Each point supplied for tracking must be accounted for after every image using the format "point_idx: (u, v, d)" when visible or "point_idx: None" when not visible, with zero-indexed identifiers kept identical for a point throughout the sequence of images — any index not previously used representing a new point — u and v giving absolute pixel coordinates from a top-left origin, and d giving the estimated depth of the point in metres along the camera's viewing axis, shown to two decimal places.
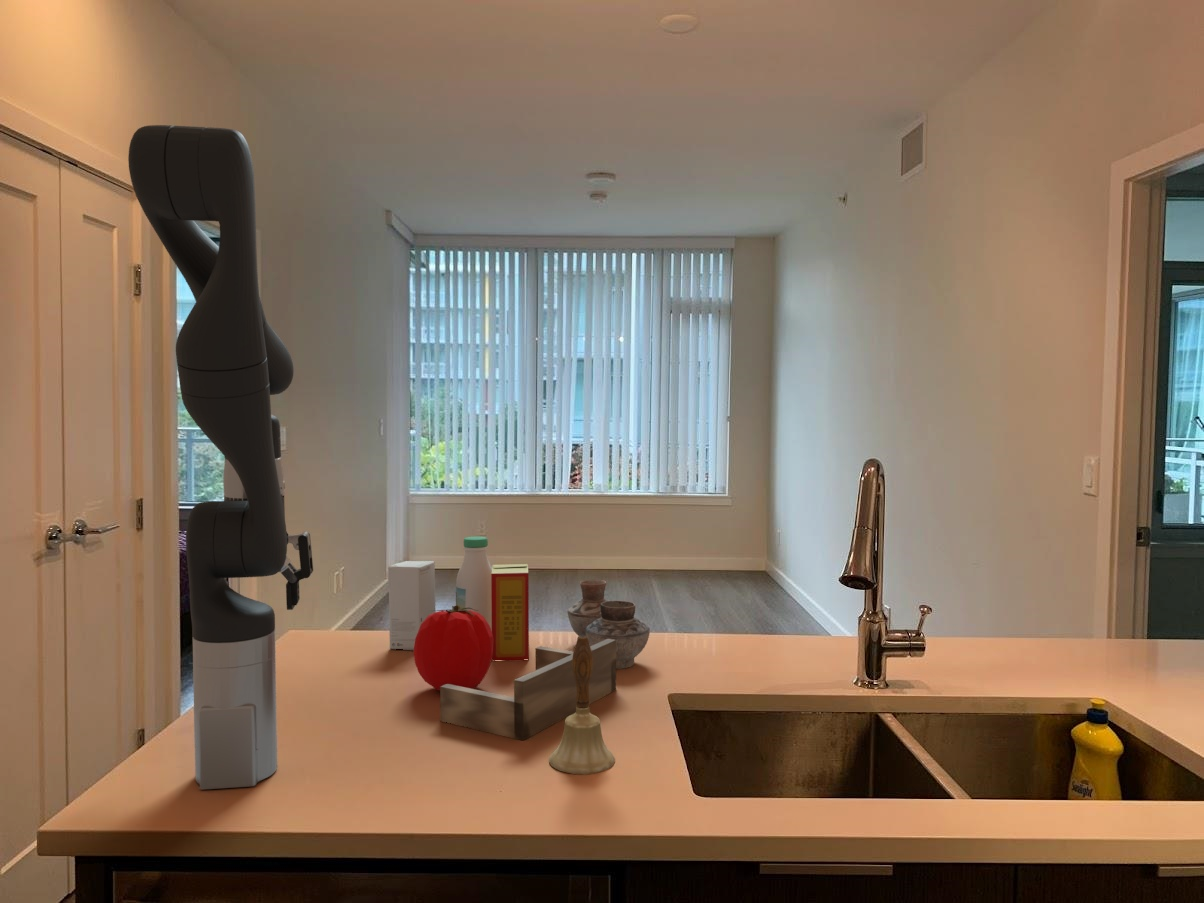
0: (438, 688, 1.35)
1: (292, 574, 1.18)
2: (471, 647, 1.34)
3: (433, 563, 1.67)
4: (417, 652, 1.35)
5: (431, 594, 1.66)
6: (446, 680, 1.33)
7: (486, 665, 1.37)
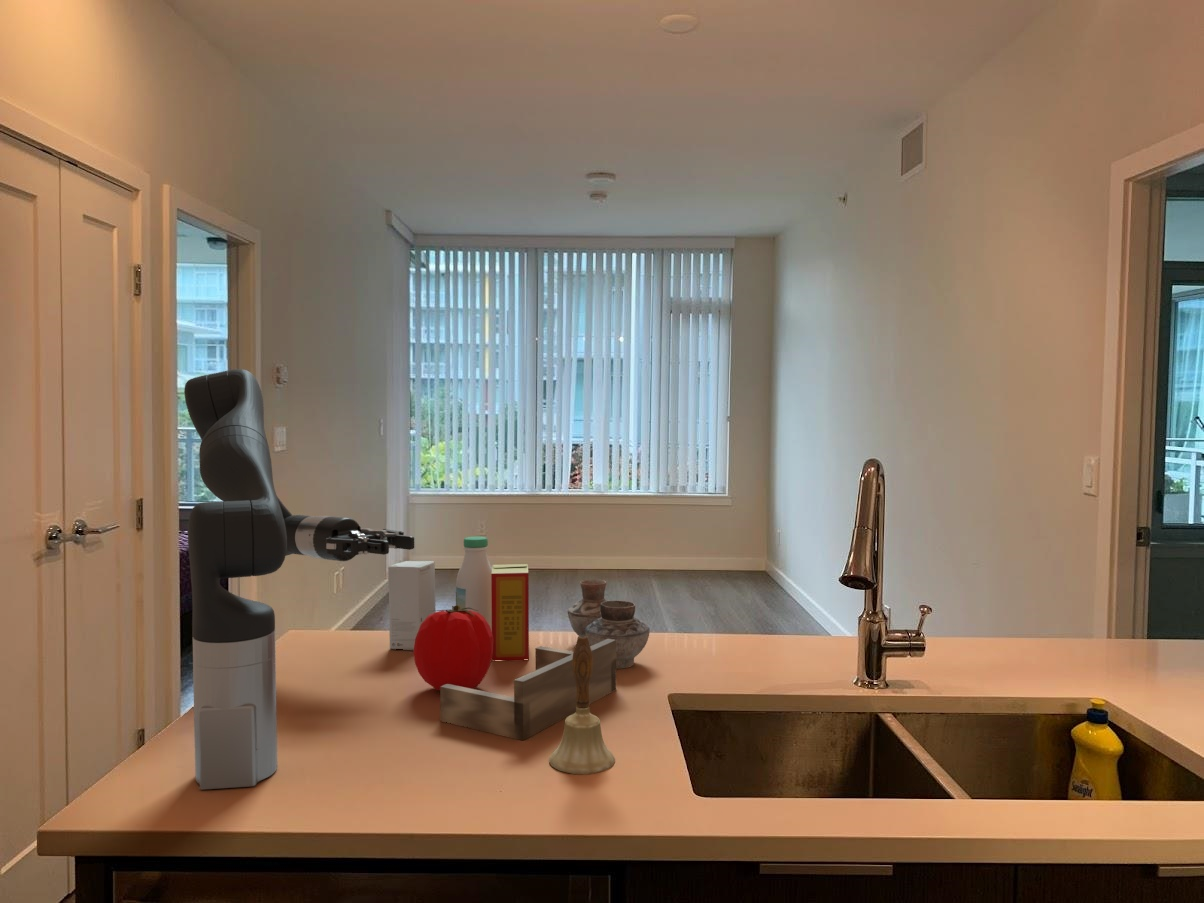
0: (438, 688, 1.35)
1: (393, 533, 1.49)
2: (471, 647, 1.34)
3: (433, 563, 1.67)
4: (417, 652, 1.35)
5: (431, 594, 1.66)
6: (446, 680, 1.33)
7: (486, 665, 1.37)
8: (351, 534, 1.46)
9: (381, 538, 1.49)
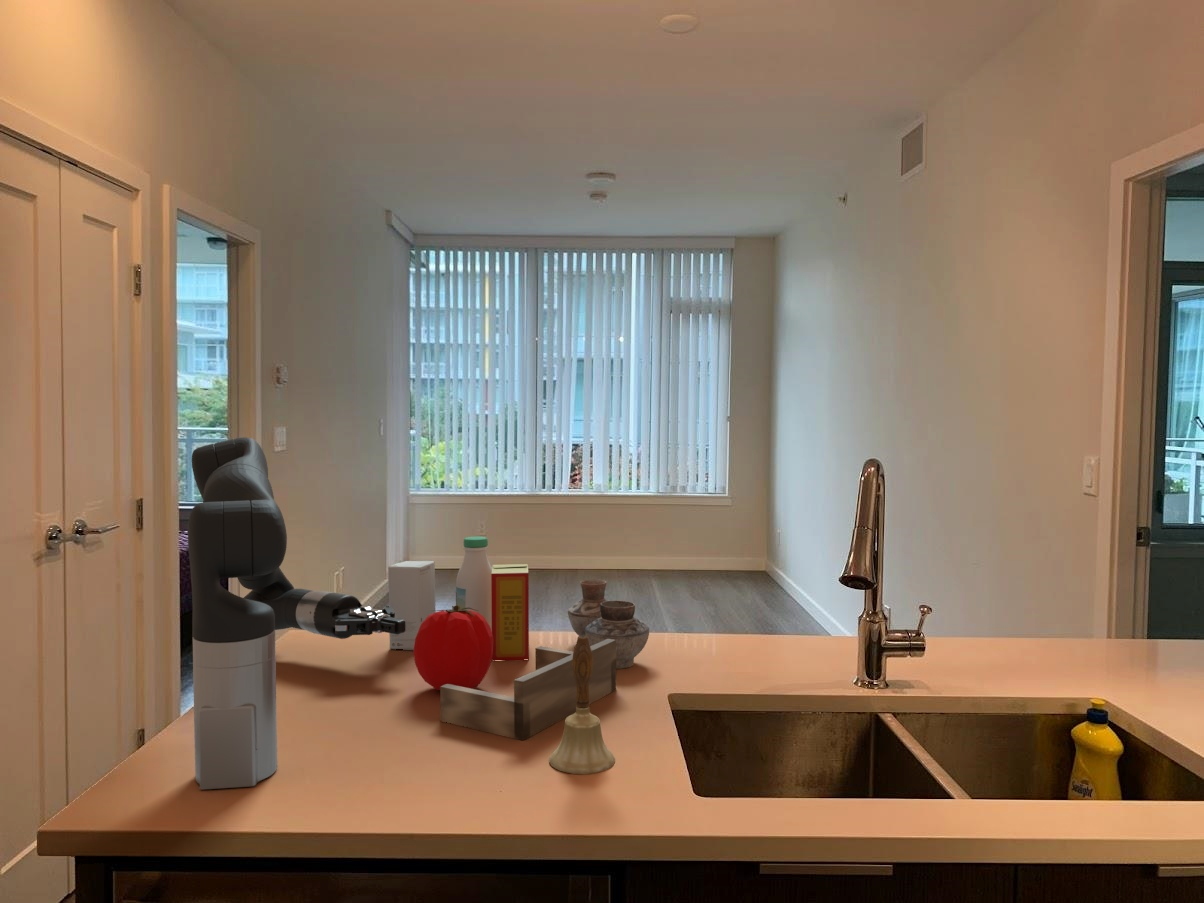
0: (438, 688, 1.35)
1: (384, 615, 1.48)
2: (471, 647, 1.34)
3: (433, 563, 1.67)
4: (417, 652, 1.35)
5: (431, 594, 1.66)
6: (446, 680, 1.33)
7: (486, 665, 1.37)
8: (355, 613, 1.47)
9: None
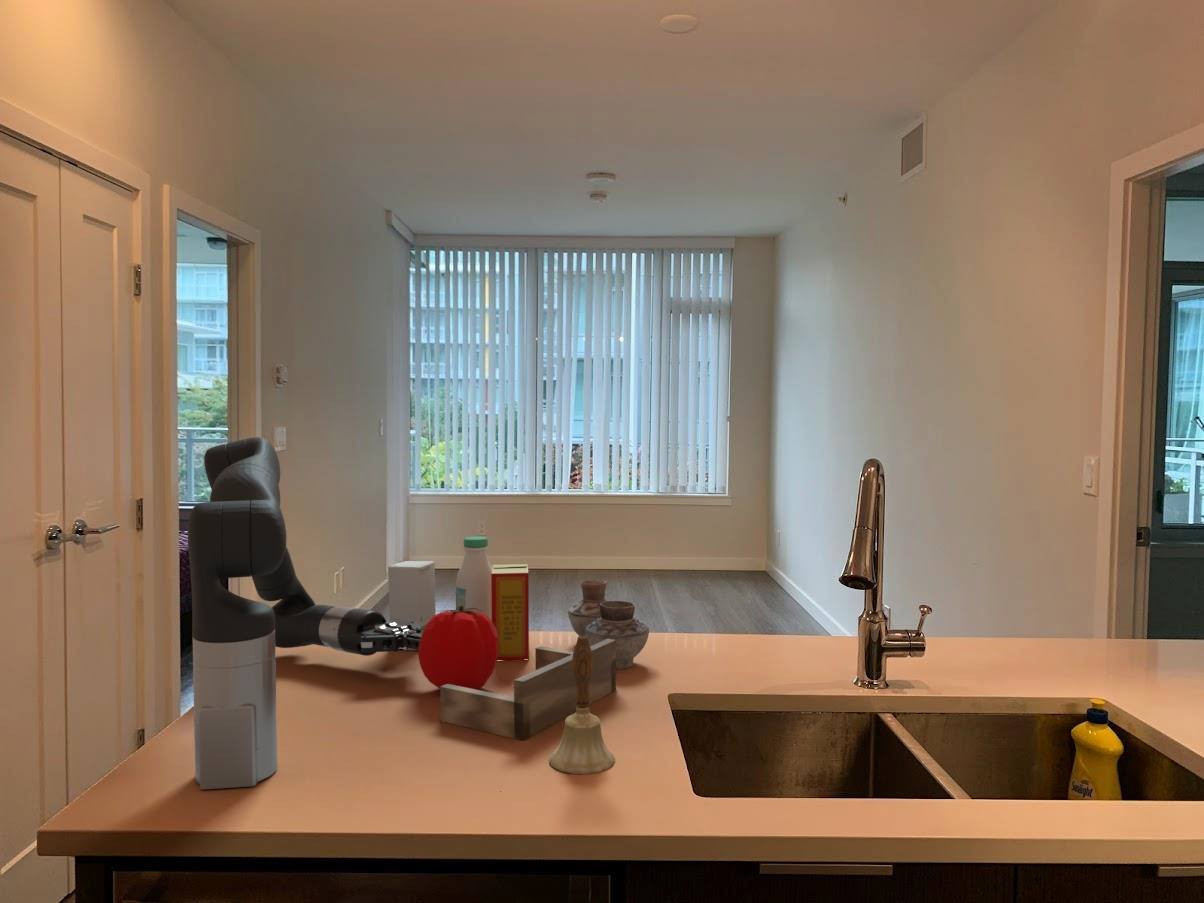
0: None
1: (410, 631, 1.45)
2: (477, 647, 1.33)
3: (433, 563, 1.67)
4: (422, 653, 1.35)
5: (431, 594, 1.66)
6: (451, 681, 1.33)
7: (492, 666, 1.37)
8: (380, 630, 1.44)
9: None
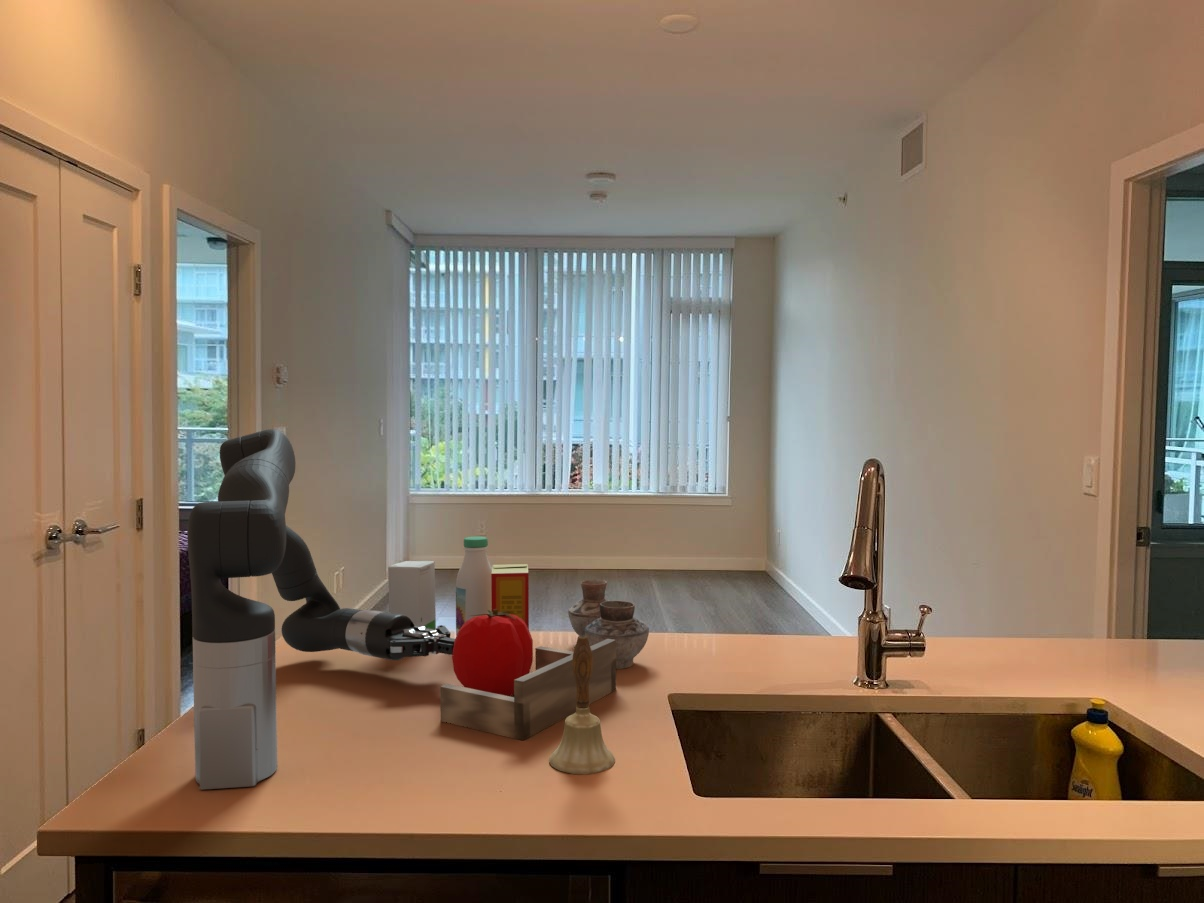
0: None
1: (439, 635, 1.41)
2: (516, 651, 1.31)
3: (433, 563, 1.67)
4: (458, 658, 1.32)
5: (431, 594, 1.66)
6: (490, 686, 1.30)
7: (528, 670, 1.35)
8: (409, 634, 1.41)
9: None
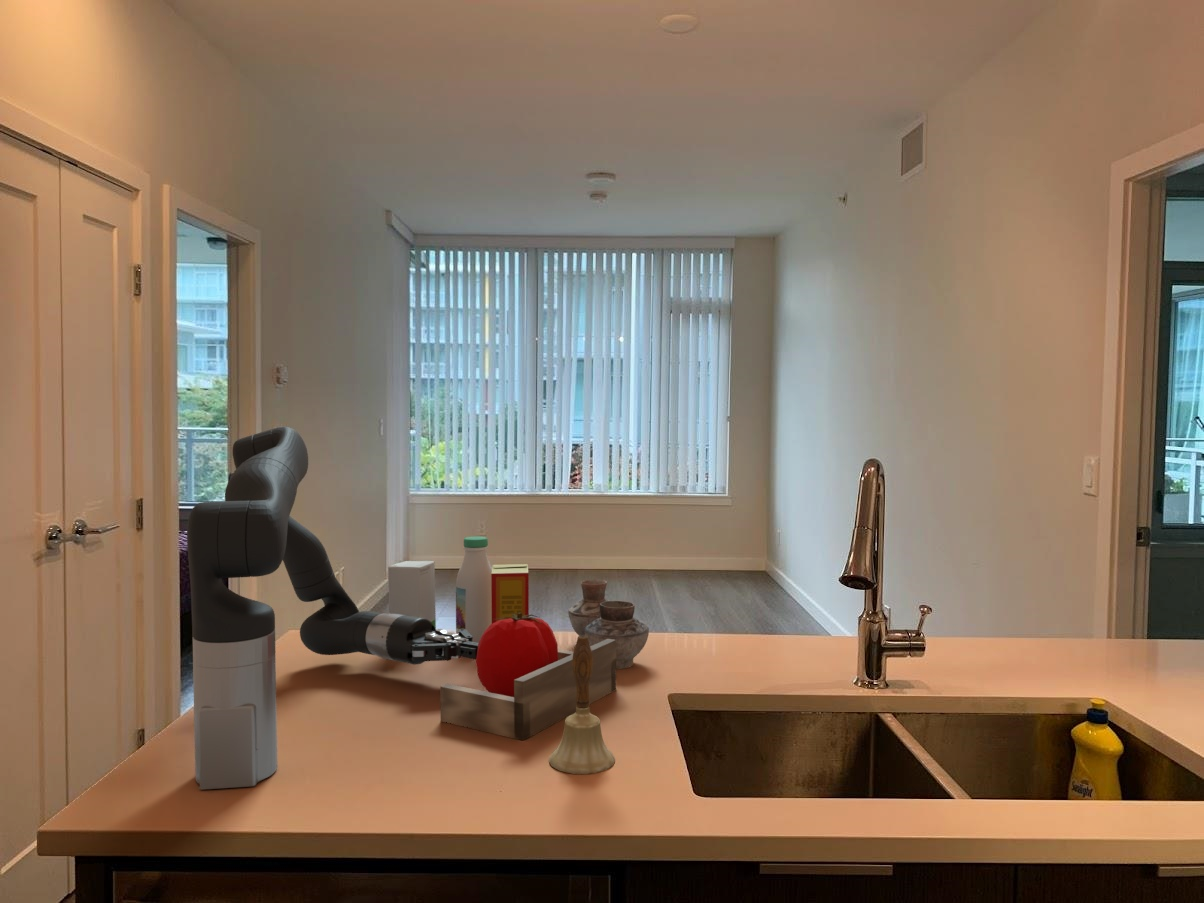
0: None
1: (461, 639, 1.39)
2: (542, 655, 1.29)
3: (433, 563, 1.67)
4: (483, 663, 1.30)
5: (431, 594, 1.66)
6: None
7: None
8: (431, 638, 1.39)
9: None
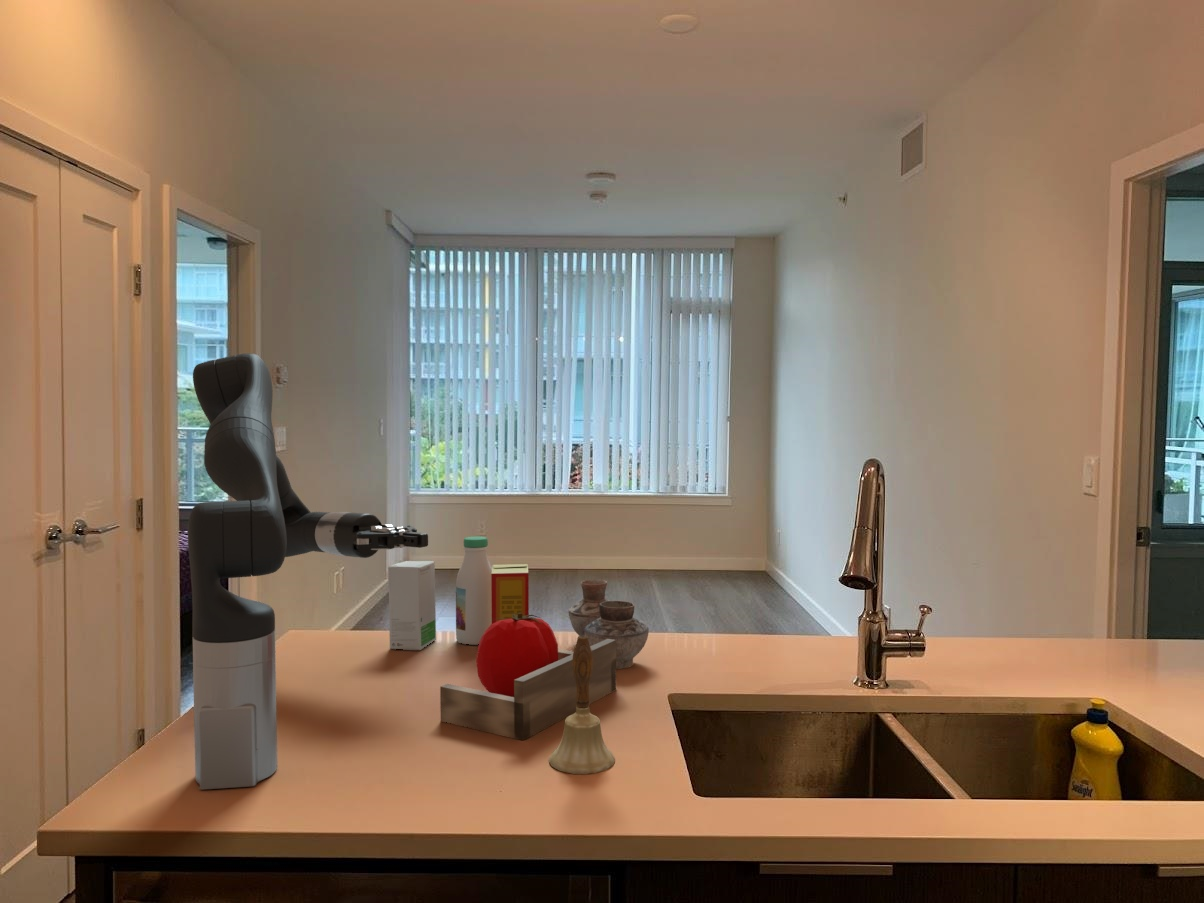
0: None
1: (405, 530, 1.44)
2: (543, 655, 1.29)
3: (433, 563, 1.67)
4: (483, 663, 1.30)
5: (431, 594, 1.66)
6: None
7: None
8: (376, 529, 1.44)
9: None
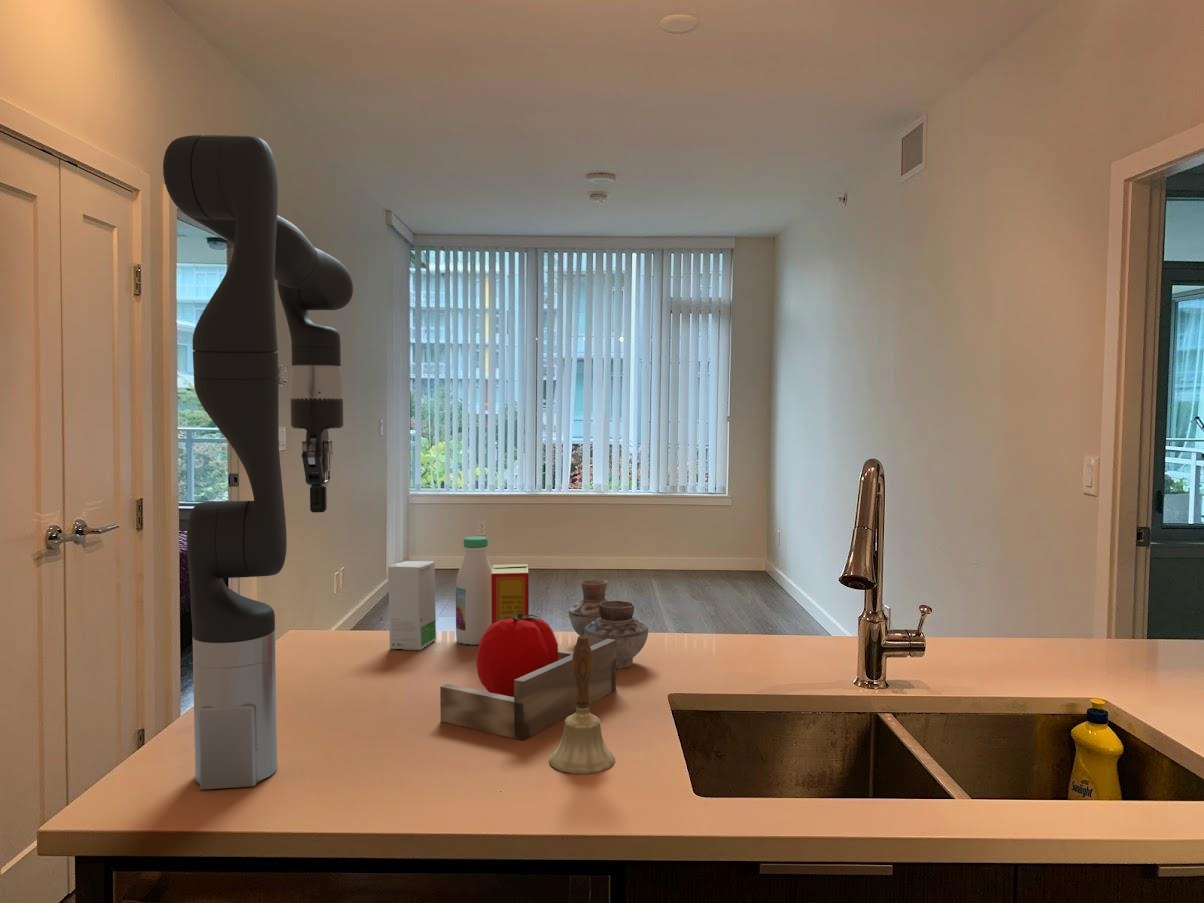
0: None
1: (327, 478, 1.32)
2: (543, 655, 1.29)
3: (433, 563, 1.67)
4: (483, 663, 1.30)
5: (431, 594, 1.66)
6: None
7: None
8: (325, 452, 1.30)
9: None
